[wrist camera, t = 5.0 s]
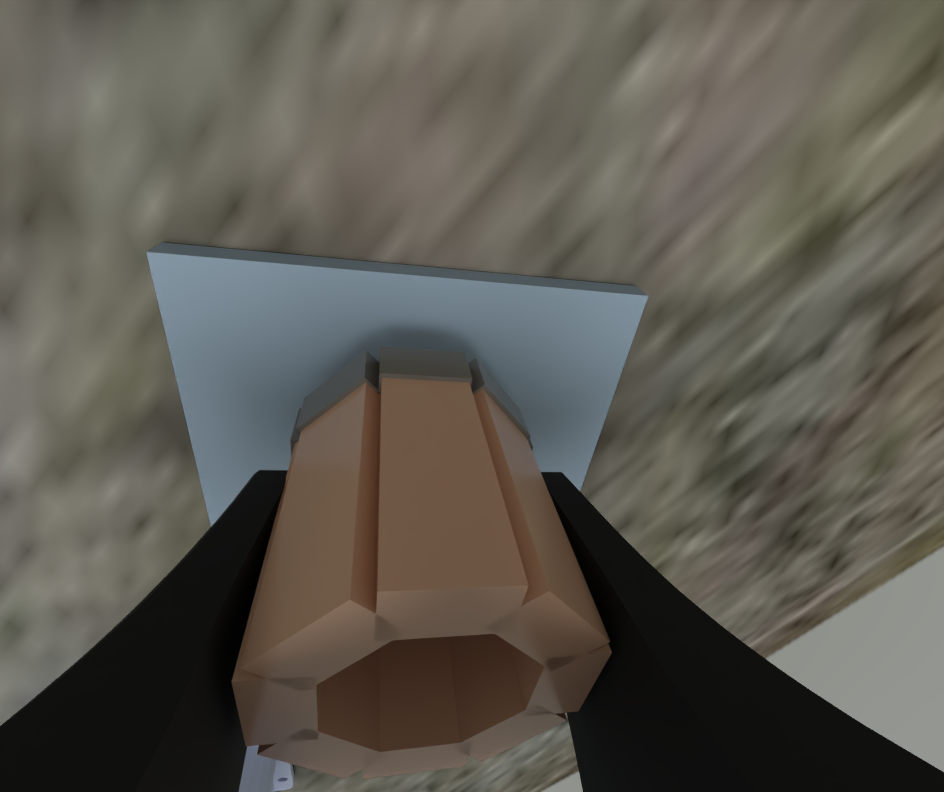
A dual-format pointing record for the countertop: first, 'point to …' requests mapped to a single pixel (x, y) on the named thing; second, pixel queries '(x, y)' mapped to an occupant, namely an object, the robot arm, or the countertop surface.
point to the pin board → (376, 346)
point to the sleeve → (413, 580)
